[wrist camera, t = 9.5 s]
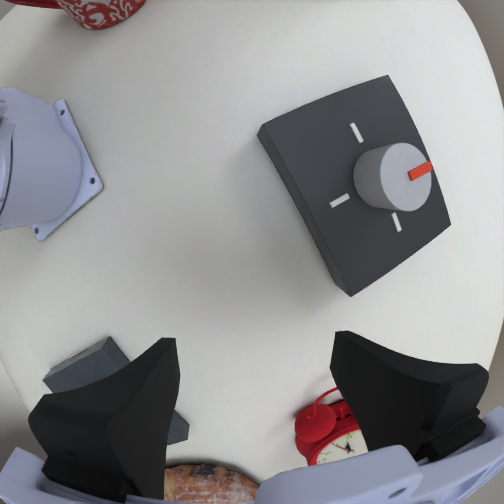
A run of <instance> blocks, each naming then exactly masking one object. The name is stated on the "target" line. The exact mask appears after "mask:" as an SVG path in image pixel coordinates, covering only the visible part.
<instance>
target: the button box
mask: <svg viewBox="0 0 504 504" xmlns="http://www.w3.org/2000/svg"><path fill="white" fill-rule="evenodd" d="M129 363H131V362H130V361H129V360H128V359H127V357H126V356H125V355H124V354H123V353H122V351H121V350H120V349H119V347H118V346H117V345H116V344H115V342H114V341H113V340H112V338H111V337H108V338H106V339H104V340H102V341H101V342H99V343H97V344H95V345H94V346H92V347H90V348H88V349H86V350H85V351H83V352H81V353H79V354H78V355H76V356H74V357H72V358H70V359H69V360H67V361H65V362H63V363H62V364H60V365H58V366H56V367H54V368H53V369H51V370H50V371H49V373H48V374H47V375H46V376H45V377H44V379H43V382H44V383H45V384H46V385H47V387H48V388H49V389H50V390H51V391H52V392H53V393H58V392H64V391H69V390H73V389H77V388H80V387H83V386H86V385H89V384H92V383H94V382H96V381H99V380H101V379H104V378H106V377H108V376H110V375H112V374H113V373H115V372H117V371H119V370H120V369H122V368H124V367H125V366H126V365H128V364H129ZM188 433H189V424H188V423H187V422H186V421H185V420H184V419H183V418H182V417H181V416H180V415H179V414H178V413H177V412H176V411H175V410H174V412H173V416H172V420H171V424H170V428H169V433H168V439H167V445H171V444H174V443H178V442H181V441H185V440H188Z"/></svg>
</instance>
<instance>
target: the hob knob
mask: <svg viewBox="0 0 504 504" xmlns="http://www.w3.org/2000/svg"><path fill="white" fill-rule="evenodd" d="M432 170H433V168H432V165H431V162H430V161H427V160H426V159H425V157H424V155H423V154H422V153H421V152H420V151H419V150H418V149H417V148H416V147H414V146H412V145H410V144H408V143H396V144H392V145H388V146H384V147H380V148H376V149H372V150H369V151H366V152H365V153H363V154H362V155H361V156H360V157H359V158H358V160H357V162H356V164H355V167H354V173H353V179H354V185H355V188H356V190H357V192H358V194H359V196H360V197H361V198H362V200H363V201H365V202H366V203H367V204H369V205H371V206H373V207H378V208H386V209H394V210H401V211H413V210H416V209H418V208H419V207H421V206H422V205H423V204H424V203H425V201H426V200H427V198H428V196H429V193H430V189H431V172H430V171H432Z"/></svg>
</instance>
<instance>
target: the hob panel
mask: <svg viewBox="0 0 504 504" xmlns="http://www.w3.org/2000/svg"><path fill="white" fill-rule="evenodd" d="M257 136H258V138H259V139H260V141H261V143H262V144H263V146H264V148H265V150H266V151H267V153H268V155H269V157H270V158H271V160H272V162H273V164H274V165H275V167H276V169H277V171H278V173H279V174H280V176H281V178H282V180H283V182H284V183H285V185H286V187H287V189H288V191H289V193H290V195H291V196H292V198H293V200H294V202H295V204H296V206H297V208H298V210H299V212H300V213H301V215H302V217H303V219H304V221H305V223H306V225H307V227H308V229H309V231H310V233H311V235H312V237H313V239H314V241H315V243H316V245H317V247H318V249H319V251H320V253H321V255H322V257H323V259H324V261H325V263H326V266H327V268H328V270H329V272H330V274H331V276H332V278H333V280H334V282H335V284H336V285H337V286H338V287H339V288H340V289H341V290H343V291H344V292H345V293H346V294H347V295H349V296H350V297H352V296H353V295H355V294H357V293H358V292H360V291H361V290H363V289H364V288H366V287H367V286H369V285H370V284H372V283H373V282H375V281H376V280H378V279H379V278H381V277H382V276H384V275H385V274H386V273H388V272H389V271H391V270H392V269H394V268H395V267H396V266H398V265H399V264H401V263H402V262H403V261H405V260H406V259H408V258H409V257H410V256H412V255H413V254H414V253H416V252H417V251H418V250H420V249H421V248H422V247H424V246H425V245H426V244H428V243H429V242H430V241H432V240H433V239H434V238H435V237H437V236H438V235H439V234H440V233H442V232H443V231H444V230H445V229H447V228H448V227H449V226H450V225H451V222H450V218H449V215H448V211H447V208H446V204H445V201H444V198H443V195H442V192H441V189H440V186H439V183H438V180H437V177H436V174H435V172H434V169H433V170H432V171H430V172H431V189H430V193H429V196H428V198H427V200H426V201H425V203H424V204H423V205H422V206H421V207H419V208H418V209H416V210H413V211H401V210H394V209H386V208H378V207H373V206H371V205H369V204H367V203H366V202H365V201H363V200H362V198H361V197H360V196H359V194H358V192H357V190H356V188H355V185H354V179H353V173H354V167H355V164H356V162H357V160H358V158H359V157H360V156H361V155H362V154H363V153H365V152H366V151H369V150H372V149H376V148H380V147H384V146H388V145H392V144H396V143H408V144H410V145H412V146H414V147H416V148H417V149H418V150H419V151H420V152H421V153H422V154H423V155H424V157H425V159H426V160H427V161H430V158H429V156H428V153H427V151H426V149H425V146H424V144H423V142H422V139H421V137H420V135H419V133H418V130H417V128H416V126H415V124H414V122H413V120H412V118H411V116H410V114H409V112H408V110H407V108H406V106H405V104H404V102H403V100H402V98H401V97H400V95H399V93H398V91H397V89H396V88H395V86H394V84H393V82H392V81H391V79H390V77H389V76H388V75H386V76H382V77H379V78H376V79H373V80H370V81H367V82H364V83H361V84H358V85H355V86H352V87H350V88H347V89H344V90H341V91H339V92H336V93H333V94H331V95H328V96H326V97H323V98H321V99H318V100H316V101H313V102H311V103H308V104H306V105H304V106H301V107H299V108H297V109H295V110H292V111H290V112H288V113H286V114H283V115H281V116H279V117H277V118H275V119H273V120H270V121H268V122H266V123H264V124H262V126H261V128H260V130H259V132H258V134H257ZM430 162H431V161H430ZM431 165H432V164H431ZM432 168H433V166H432Z"/></svg>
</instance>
